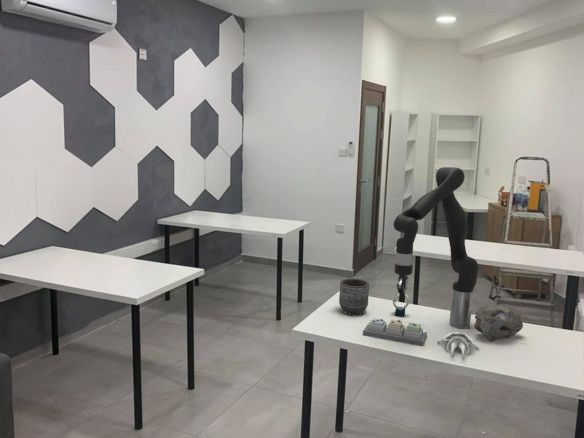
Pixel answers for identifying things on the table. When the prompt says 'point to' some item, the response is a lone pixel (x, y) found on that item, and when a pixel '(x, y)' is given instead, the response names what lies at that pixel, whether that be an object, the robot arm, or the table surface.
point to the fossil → (497, 322)
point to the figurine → (458, 343)
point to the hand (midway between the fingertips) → (401, 301)
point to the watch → (400, 310)
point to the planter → (353, 295)
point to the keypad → (395, 334)
